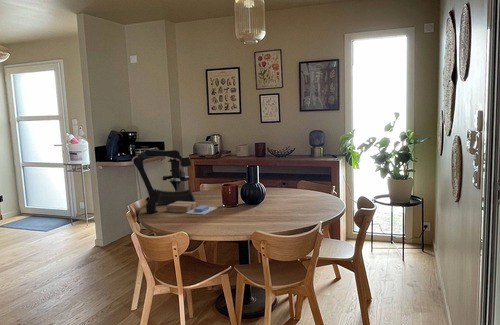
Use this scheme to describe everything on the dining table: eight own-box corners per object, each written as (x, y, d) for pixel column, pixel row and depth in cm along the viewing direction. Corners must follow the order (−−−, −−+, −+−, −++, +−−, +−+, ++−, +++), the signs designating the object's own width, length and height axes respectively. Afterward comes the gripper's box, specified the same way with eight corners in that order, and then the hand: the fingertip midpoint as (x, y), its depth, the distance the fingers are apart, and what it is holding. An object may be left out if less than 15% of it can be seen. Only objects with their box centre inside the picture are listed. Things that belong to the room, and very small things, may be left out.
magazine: (197, 190, 295) (157, 180, 294) (197, 190, 292) (156, 181, 291) (192, 212, 297) (152, 202, 296) (192, 213, 294) (151, 203, 293)
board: (187, 212, 265) (186, 206, 265) (167, 211, 272) (166, 205, 271) (198, 207, 278) (197, 201, 278) (178, 206, 285) (178, 200, 284)
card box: (194, 208, 266) (194, 211, 266) (201, 209, 263) (202, 212, 263) (200, 205, 274) (201, 208, 274) (208, 205, 271) (208, 208, 272)
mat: (204, 214, 258) (204, 214, 258) (185, 213, 264) (185, 212, 264) (217, 207, 274) (217, 207, 274) (199, 206, 280) (199, 206, 280)
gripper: (193, 166, 278) (194, 189, 280) (171, 166, 286) (172, 187, 288) (184, 169, 268) (185, 192, 270) (161, 168, 276) (162, 190, 278)
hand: (176, 190), depth 277 cm, fingers closed
